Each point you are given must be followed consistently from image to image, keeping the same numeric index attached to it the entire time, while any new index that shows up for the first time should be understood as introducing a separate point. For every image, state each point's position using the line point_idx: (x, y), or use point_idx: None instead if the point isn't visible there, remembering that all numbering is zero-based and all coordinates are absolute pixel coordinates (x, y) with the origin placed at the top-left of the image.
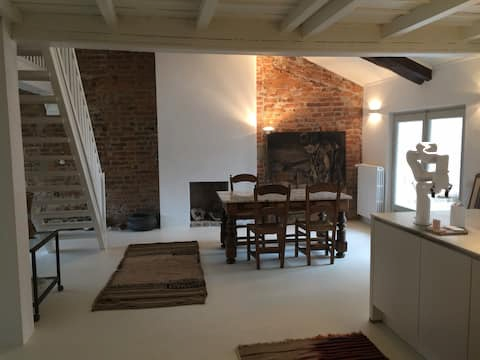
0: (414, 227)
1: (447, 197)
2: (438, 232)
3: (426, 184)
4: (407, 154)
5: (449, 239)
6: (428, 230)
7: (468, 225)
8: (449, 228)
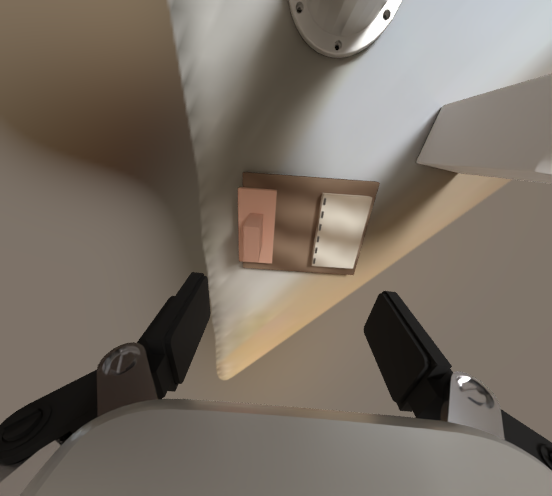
0: (223, 98)
1: (367, 330)
2: None
3: None
4: None
5: (238, 305)
6: None
7: None
8: (316, 235)
